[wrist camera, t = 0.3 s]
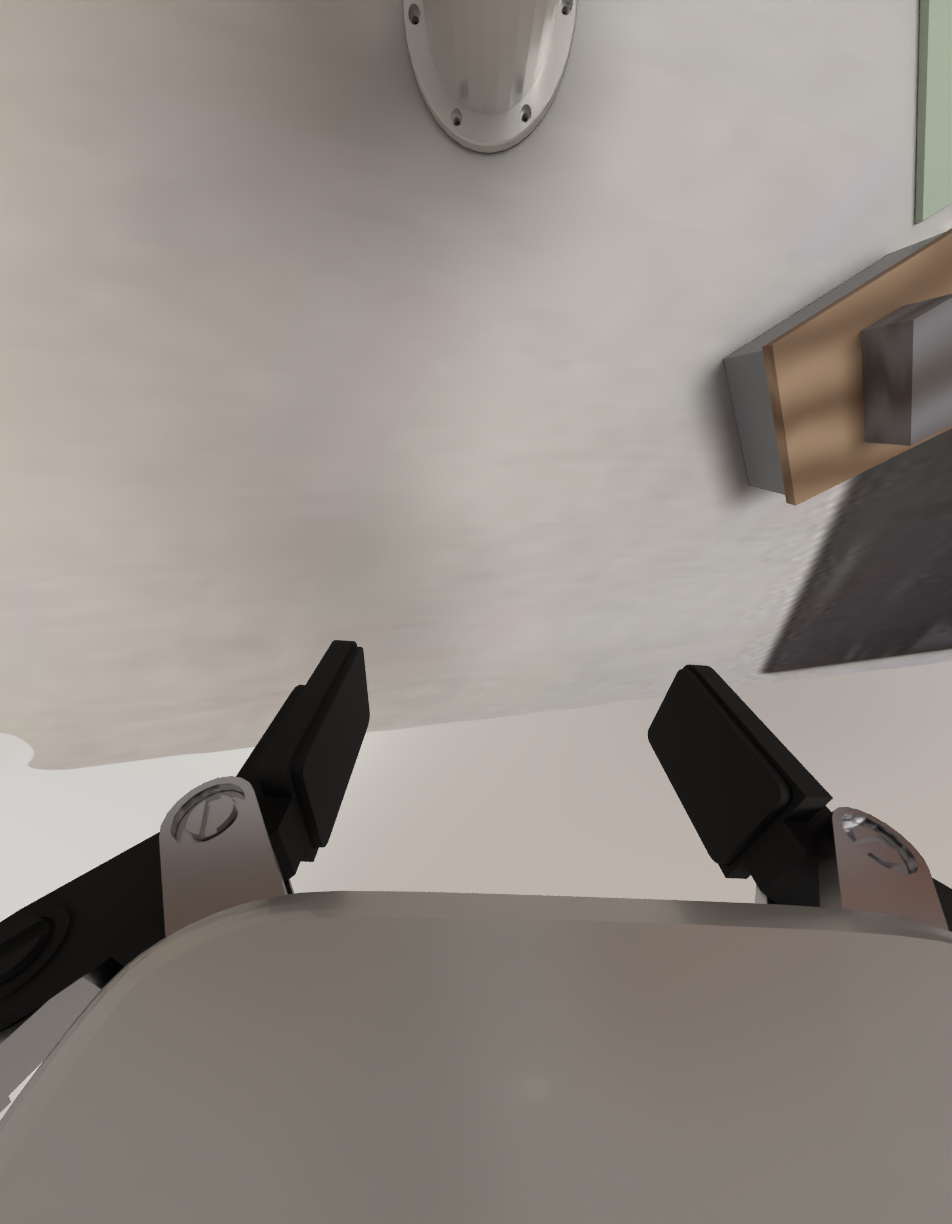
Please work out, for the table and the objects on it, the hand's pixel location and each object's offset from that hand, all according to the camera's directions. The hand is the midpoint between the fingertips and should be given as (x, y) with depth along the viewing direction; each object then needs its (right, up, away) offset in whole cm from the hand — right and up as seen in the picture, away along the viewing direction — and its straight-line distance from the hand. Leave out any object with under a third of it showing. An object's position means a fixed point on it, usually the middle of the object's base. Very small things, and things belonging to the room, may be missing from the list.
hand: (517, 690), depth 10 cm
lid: (+35, +24, +22) cm, 48 cm away
